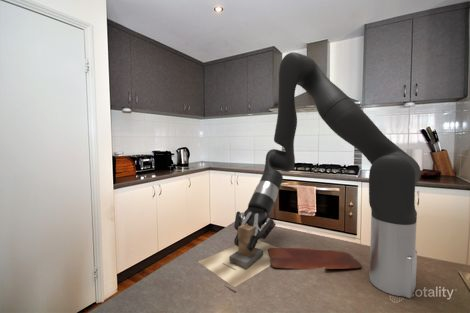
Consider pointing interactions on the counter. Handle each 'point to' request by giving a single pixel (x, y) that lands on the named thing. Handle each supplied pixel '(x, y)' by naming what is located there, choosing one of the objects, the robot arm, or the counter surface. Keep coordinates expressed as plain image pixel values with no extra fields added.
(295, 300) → the counter surface
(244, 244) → the block
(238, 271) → the birch board
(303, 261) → the wooden tablet
